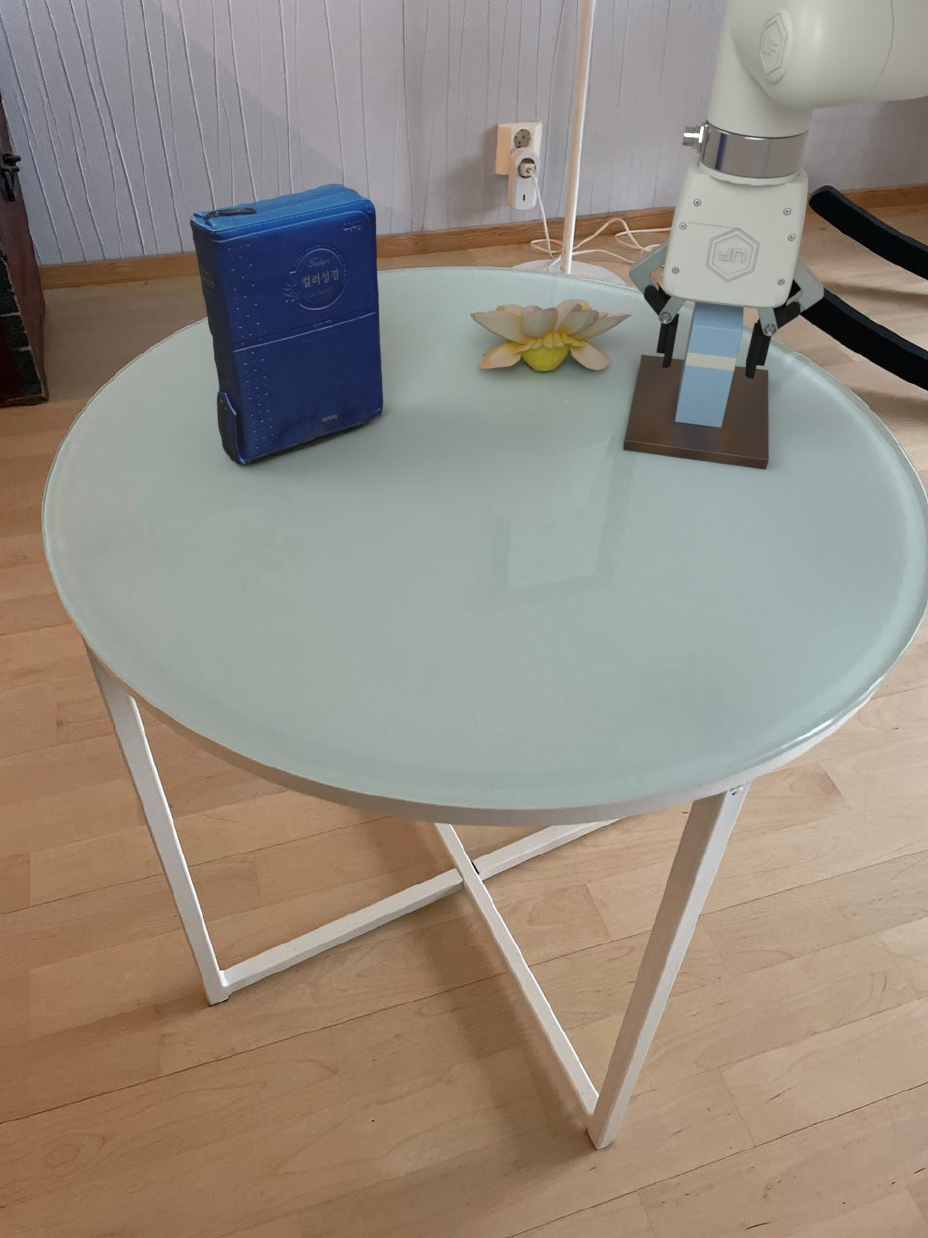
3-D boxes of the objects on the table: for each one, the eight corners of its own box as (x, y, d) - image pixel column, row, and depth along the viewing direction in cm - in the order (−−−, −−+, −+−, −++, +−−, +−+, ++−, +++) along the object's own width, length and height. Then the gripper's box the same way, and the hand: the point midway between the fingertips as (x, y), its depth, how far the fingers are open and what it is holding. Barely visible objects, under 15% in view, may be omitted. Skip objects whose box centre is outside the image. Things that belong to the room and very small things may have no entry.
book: (241, 478, 81) (203, 230, 68) (212, 448, 84) (171, 206, 71) (390, 426, 87) (382, 190, 74) (358, 400, 91) (345, 170, 77)
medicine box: (724, 383, 92) (744, 290, 86) (721, 428, 86) (743, 330, 80) (680, 378, 93) (697, 284, 87) (674, 422, 87) (692, 324, 81)
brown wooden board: (766, 379, 95) (768, 369, 95) (766, 469, 84) (768, 459, 83) (640, 363, 97) (641, 353, 96) (623, 449, 85) (624, 439, 85)
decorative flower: (618, 312, 101) (626, 224, 93) (632, 390, 95) (642, 303, 86) (470, 321, 101) (465, 234, 93) (474, 399, 95) (469, 313, 87)
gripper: (632, 153, 74) (604, 373, 86) (875, 176, 71) (811, 399, 83) (641, 124, 79) (613, 335, 91) (867, 144, 77) (808, 358, 89)
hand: (708, 364), depth 87 cm, fingers open, 6 cm apart
